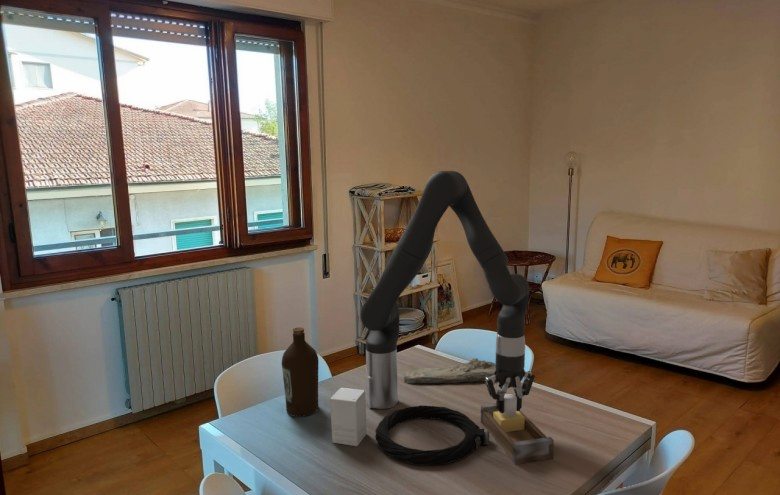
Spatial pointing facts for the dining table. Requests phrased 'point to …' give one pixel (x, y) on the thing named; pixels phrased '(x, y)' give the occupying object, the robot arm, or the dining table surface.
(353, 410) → the supplement box
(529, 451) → the wooden tray
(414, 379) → the long grey stone
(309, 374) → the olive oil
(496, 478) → the dining table surface
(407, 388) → the dining table surface
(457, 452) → the cable lock
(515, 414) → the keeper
